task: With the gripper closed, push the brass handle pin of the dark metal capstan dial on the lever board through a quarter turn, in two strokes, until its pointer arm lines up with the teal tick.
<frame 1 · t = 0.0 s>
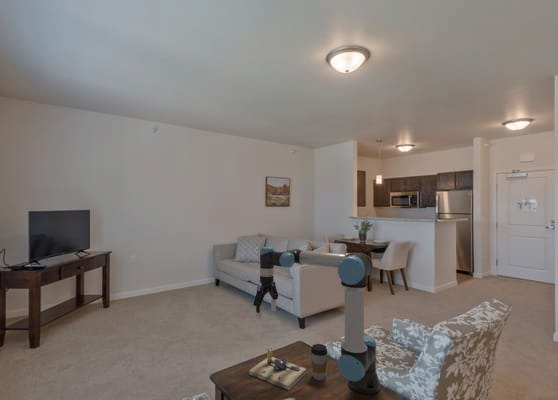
hand: (266, 314, 160), 28 cm above the table, fingers open, 13 cm apart
lever board: (278, 373, 153), on the table
coffee cup: (319, 377, 150), on the table
capstan: (277, 358, 156), point 6 cm above the table, hinge at 0.0°
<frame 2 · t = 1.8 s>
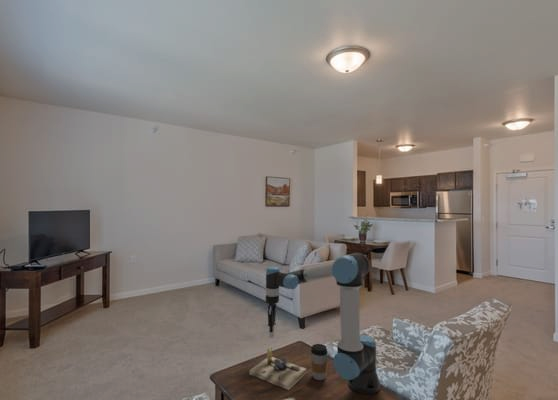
hand: (271, 337, 165), 14 cm above the table, fingers closed
nothing on the table moved.
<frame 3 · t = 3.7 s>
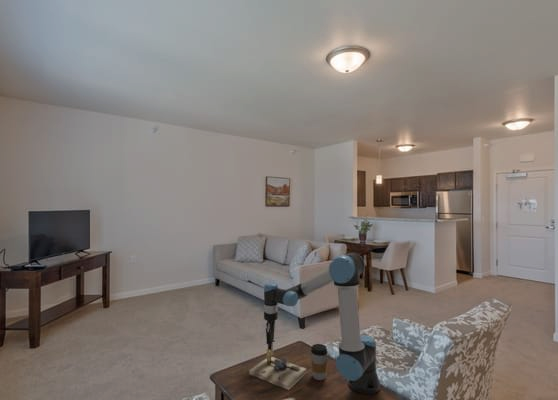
hand: (270, 354, 161), 6 cm above the table, fingers closed
capstan: (277, 359, 156), point 6 cm above the table, hinge at 3.8°, touching gripper
everything else where it was.
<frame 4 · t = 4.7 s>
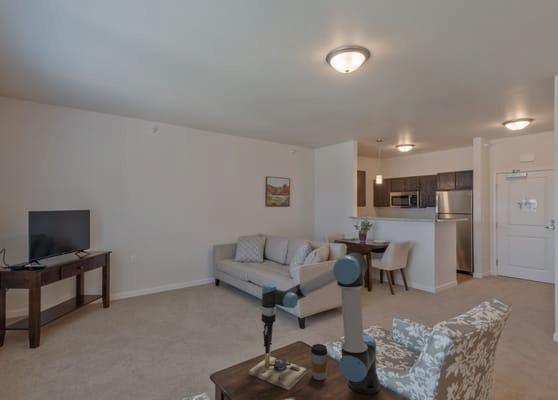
hand: (267, 357, 157), 6 cm above the table, fingers closed
capstan: (277, 360, 154), point 6 cm above the table, hinge at 38.6°, touching gripper
everything else where it was.
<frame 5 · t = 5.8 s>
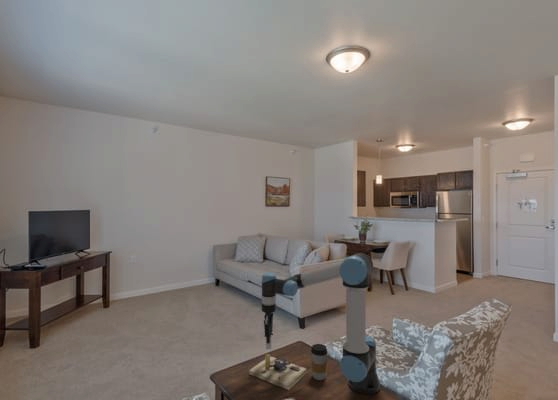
hand: (268, 348, 155), 12 cm above the table, fingers closed
capstan: (277, 360, 154), point 6 cm above the table, hinge at 48.5°
everything else where it was.
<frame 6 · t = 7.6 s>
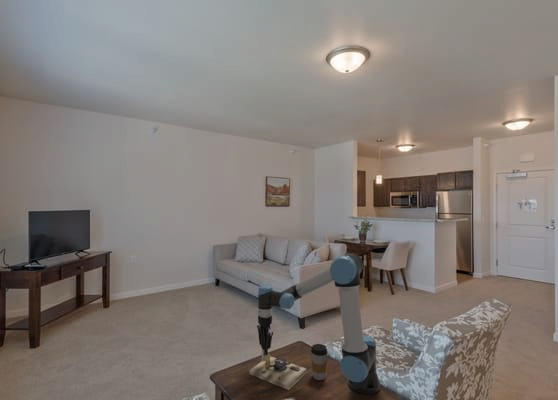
hand: (264, 360, 156), 5 cm above the table, fingers closed
capstan: (277, 360, 154), point 6 cm above the table, hinge at 48.8°, touching gripper
everything else where it was.
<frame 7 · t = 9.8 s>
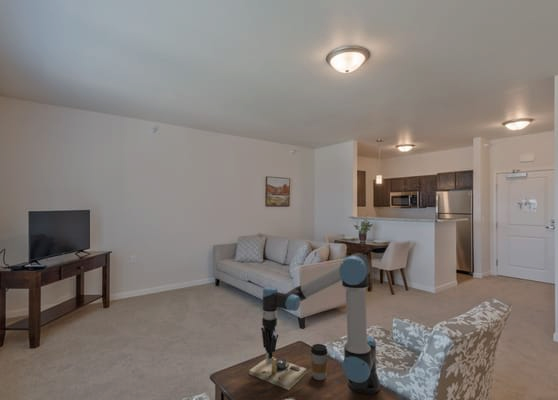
hand: (268, 363, 152), 6 cm above the table, fingers closed
capstan: (278, 361, 153), point 6 cm above the table, hinge at 95.9°
everything else where it was.
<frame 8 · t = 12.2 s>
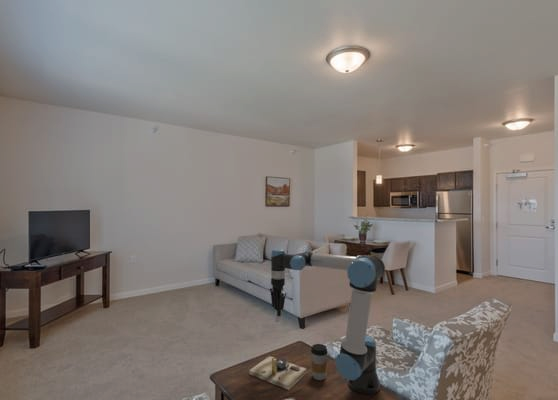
hand: (277, 321, 160), 24 cm above the table, fingers closed
nothing on the table moved.
at the end: capstan at +96° (first picture: +0°); coffee cup moved 0.2 cm from its start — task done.
